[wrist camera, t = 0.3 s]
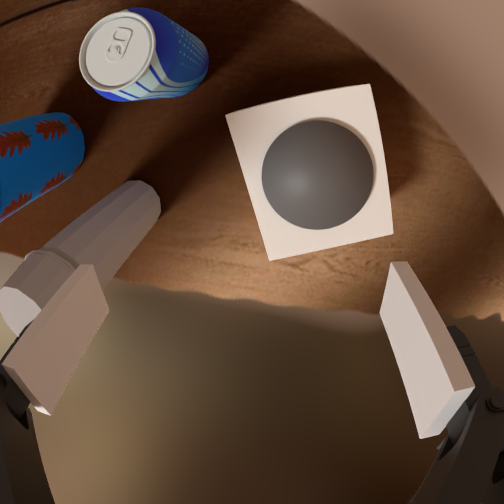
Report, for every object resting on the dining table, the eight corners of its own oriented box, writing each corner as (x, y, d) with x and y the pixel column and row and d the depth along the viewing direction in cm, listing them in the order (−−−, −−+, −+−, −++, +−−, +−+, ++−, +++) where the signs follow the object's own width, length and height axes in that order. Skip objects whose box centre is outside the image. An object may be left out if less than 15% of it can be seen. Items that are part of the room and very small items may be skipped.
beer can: (223, 74, 32) (187, 60, 18) (164, 109, 34) (97, 124, 20) (190, 21, 28) (137, -19, 14) (134, 58, 31) (56, 48, 17)
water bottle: (133, 165, 38) (-1, 260, 16) (175, 204, 40) (79, 335, 18) (100, 210, 41) (-14, 318, 19) (138, 246, 43) (48, 375, 22)
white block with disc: (235, 111, 34) (224, 115, 26) (350, 85, 31) (371, 83, 24) (270, 230, 41) (269, 263, 33) (373, 207, 38) (394, 235, 31)
